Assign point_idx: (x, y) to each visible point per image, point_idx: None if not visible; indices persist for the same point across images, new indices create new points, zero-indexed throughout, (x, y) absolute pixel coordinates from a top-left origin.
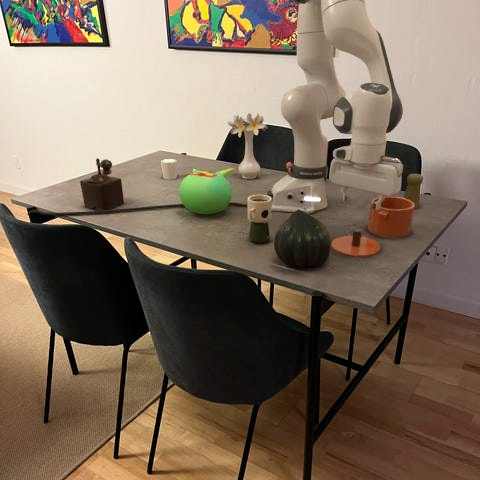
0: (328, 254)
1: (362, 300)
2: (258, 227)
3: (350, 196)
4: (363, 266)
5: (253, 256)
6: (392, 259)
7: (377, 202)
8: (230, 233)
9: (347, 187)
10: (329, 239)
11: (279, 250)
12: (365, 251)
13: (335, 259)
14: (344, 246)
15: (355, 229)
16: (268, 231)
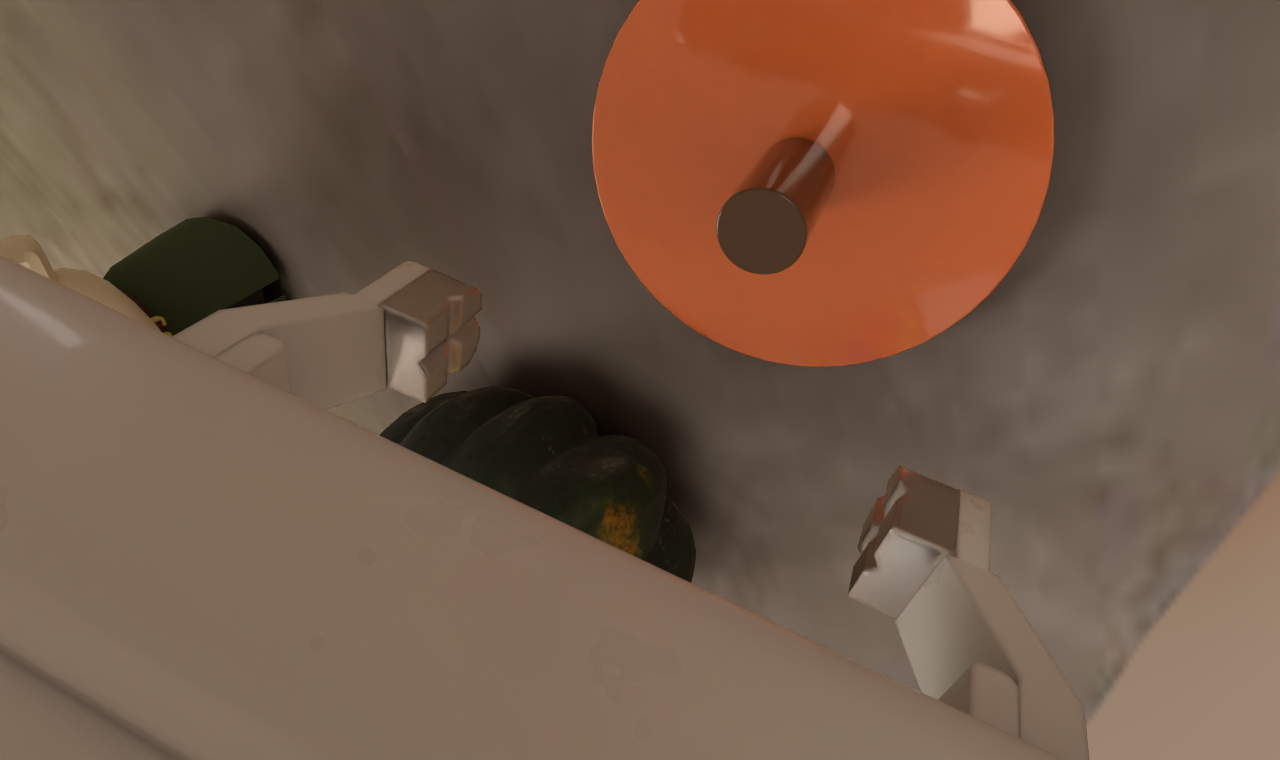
0: (690, 582)
1: None
2: None
3: (435, 329)
4: (931, 441)
5: None
6: (1196, 263)
7: (921, 649)
8: (94, 233)
9: (280, 388)
10: (632, 554)
11: None
12: (910, 283)
13: (720, 388)
14: (716, 242)
15: (734, 218)
16: (230, 299)
